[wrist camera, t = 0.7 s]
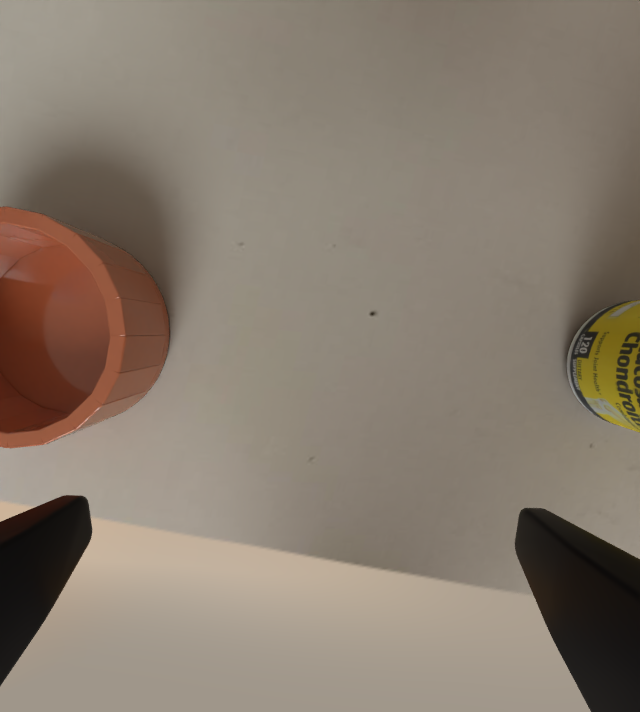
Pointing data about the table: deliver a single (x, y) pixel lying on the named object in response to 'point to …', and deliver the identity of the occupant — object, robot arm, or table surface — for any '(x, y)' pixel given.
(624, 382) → the pill bottle
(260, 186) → the table surface
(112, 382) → the bowl
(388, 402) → the table surface
